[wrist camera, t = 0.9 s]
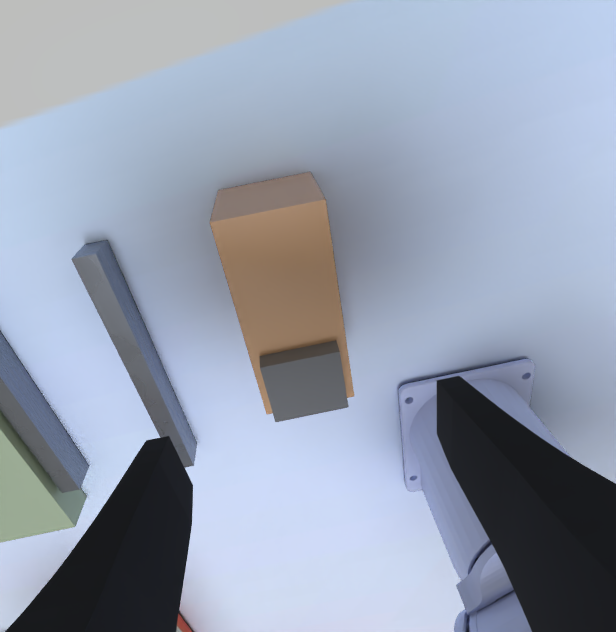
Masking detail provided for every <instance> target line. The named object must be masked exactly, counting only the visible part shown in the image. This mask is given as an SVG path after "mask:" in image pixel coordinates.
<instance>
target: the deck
mask: <svg viewBox="0 0 616 632" xmlns="http://www.w3.org/2000/svg"><path fill="white" fill-rule="evenodd" d="M85 500H86V495H85V494H84V492H83V491H82V490H81V488H80V490H75V491H70V492H65V493H62V492H61V491H60V490H59V488H58V487H57V485H56V484H55V483H54V481H53V480H52V479H51V477H50V476H49V475H48V473H47V472H46V471H45V469H44V468H43V467H42V465H41V464H40V463H39V461H38V460H37V459H36V457H35V456H34V455H33V453H32V452H31V451H30V449H29V448H28V447H27V445H26V444H25V443H24V441H23V440H22V439H21V437H20V436H19V435H18V433H17V432H16V430H15V429H14V428H13V426H12V425H11V424H10V422H9V421H8V420H7V418H6V417H5V416H4V414H3V413H2V412H1V410H0V542H5V541H10V540H15V539H19V538H24V537H29V536H34V535H38V534H43V533H48V532H53V531H57V530H62V529H67V528H72V527H75V526H76V524H77V521H78V518H79V516H80V513H81V510H82V508H83V505H84V503H85Z"/></svg>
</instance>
